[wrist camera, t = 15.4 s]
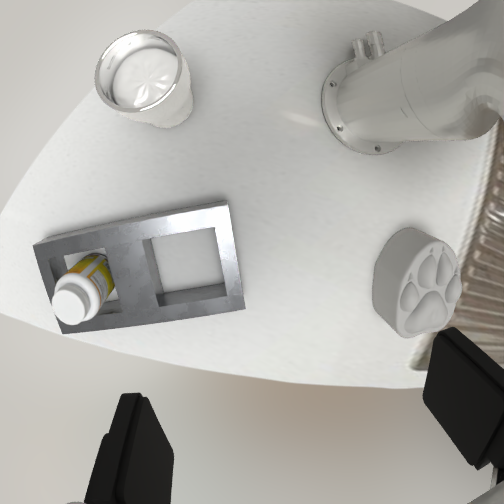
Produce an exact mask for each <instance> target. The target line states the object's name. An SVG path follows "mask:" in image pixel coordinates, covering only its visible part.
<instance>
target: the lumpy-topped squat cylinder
mask: <svg viewBox="0 0 504 504" xmlns="http://www.w3.org/2000/svg"><path fill="white" fill-rule="evenodd" d="M461 292H462V283H461V280H460V268H459V264H458V261H457V258H456V255H455V253H454V251H453V250H452V249H451V247H450V246H449V245H448V244H446V243H445V242H443V241H441V240H439V239H437V238H435V237H432V236H430V235H428V234H426V233H423V232H421V231H419V230H416V229H414V228H404V229H402V230H400V231H398V232H397V233H396V234H395V235H393V236H392V237H391V238H390V239H389V241H388V242H387V243H386V245H385V246H384V248H383V250H382V251H381V253H380V255H379V257H378V259H377V261H376V264H375V269H374V276H373V286H372V301H373V307H374V309H375V311H376V312H377V313H378V314H379V315H380V316H381V317H382V318H383V319H384V320H385V321H386V322H387V323H388V324H389V325H390V326H391V327H392V328H393V329H394V330H395V331H396V332H397V333H398V334H399V335H400V336H401V337H403V338H412V337H415V336H417V335H419V334H422V333H427V332H436V331H439V330H441V329H442V328H443V327H444V326H445V325H446V324H447V323H448V321H449V320H450V318H451V316H452V314H453V312H454V309H455V305H456V301H457V300H458V299H459V297H460V295H461Z"/></svg>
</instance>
